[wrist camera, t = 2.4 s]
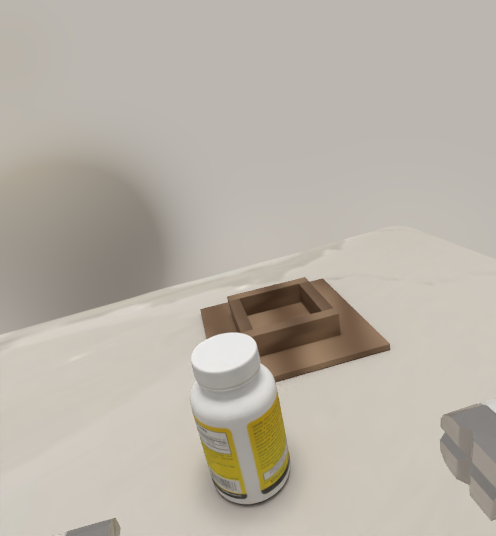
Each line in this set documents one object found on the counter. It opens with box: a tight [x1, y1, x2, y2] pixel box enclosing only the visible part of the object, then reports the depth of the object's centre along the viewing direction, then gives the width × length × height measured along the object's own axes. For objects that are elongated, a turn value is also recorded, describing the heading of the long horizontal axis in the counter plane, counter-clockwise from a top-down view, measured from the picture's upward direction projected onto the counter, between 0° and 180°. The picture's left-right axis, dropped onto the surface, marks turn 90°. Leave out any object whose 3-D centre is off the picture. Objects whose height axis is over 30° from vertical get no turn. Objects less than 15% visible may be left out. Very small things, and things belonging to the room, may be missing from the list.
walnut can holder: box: [200, 277, 390, 382], centre depth 42 cm, size 16×16×3 cm
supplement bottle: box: [190, 333, 290, 504], centre depth 25 cm, size 5×5×10 cm
